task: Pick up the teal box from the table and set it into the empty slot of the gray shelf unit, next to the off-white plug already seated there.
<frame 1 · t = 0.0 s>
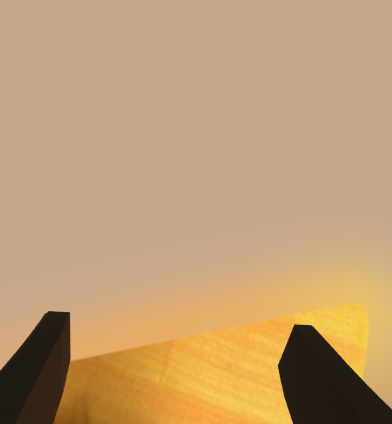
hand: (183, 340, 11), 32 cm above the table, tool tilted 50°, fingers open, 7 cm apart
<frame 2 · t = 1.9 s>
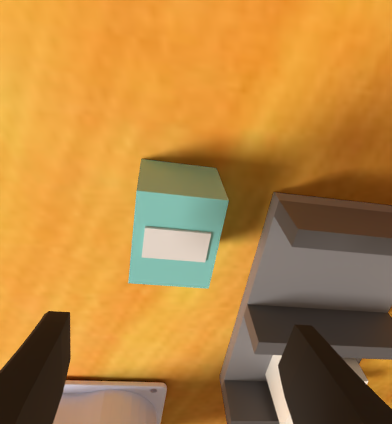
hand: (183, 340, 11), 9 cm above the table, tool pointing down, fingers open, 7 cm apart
gray shelf unit: (311, 303, 24), on the table
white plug: (300, 352, 25), point 1 cm above the table, touching gray shelf unit
teal box: (173, 204, 19), on the table
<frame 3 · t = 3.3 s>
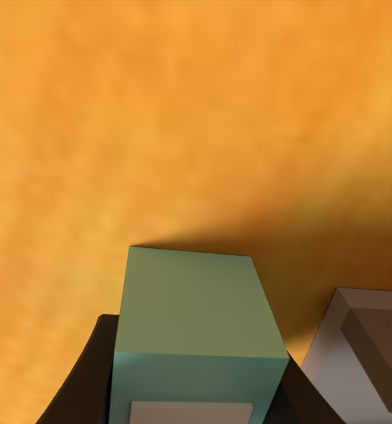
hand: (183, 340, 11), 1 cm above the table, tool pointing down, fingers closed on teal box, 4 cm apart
gray shelf unit: (373, 419, 17), on the table
teal box: (180, 308, 12), on the table, touching gripper
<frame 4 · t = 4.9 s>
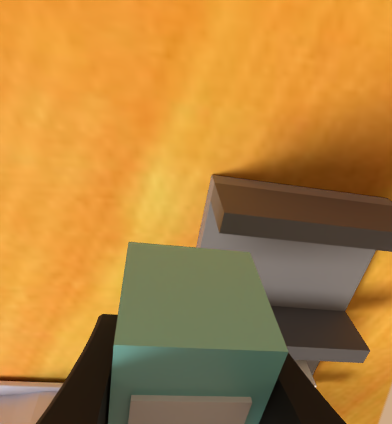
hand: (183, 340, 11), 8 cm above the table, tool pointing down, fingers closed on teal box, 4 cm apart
gray shelf unit: (263, 300, 22), on the table
teal box: (180, 304, 12), point 7 cm above the table, touching gripper
when the fingers open (4 cm above the table, at t = 6.5 s): teal box drops 1 cm, resting on gray shelf unit.
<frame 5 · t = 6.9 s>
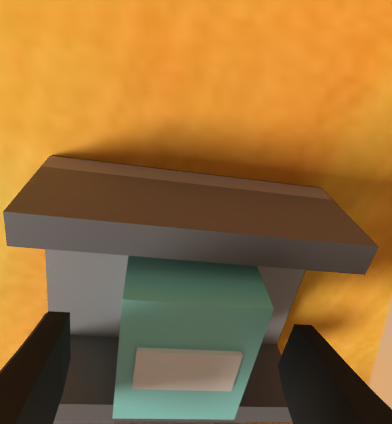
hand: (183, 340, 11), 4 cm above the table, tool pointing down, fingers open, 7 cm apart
gray shelf unit: (167, 329, 16), on the table
teal box: (179, 279, 14), point 1 cm above the table, touching gray shelf unit
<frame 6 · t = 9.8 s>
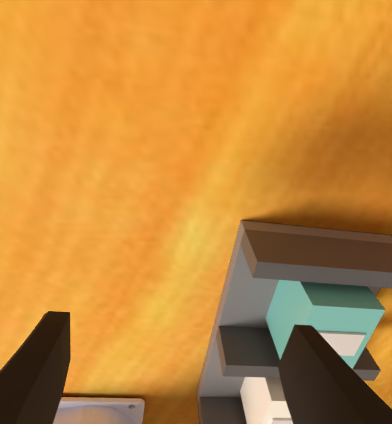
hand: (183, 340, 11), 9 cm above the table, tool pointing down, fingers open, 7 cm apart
gray shelf unit: (283, 323, 25), on the table
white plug: (273, 370, 26), point 1 cm above the table, touching gray shelf unit
teal box: (305, 291, 22), point 1 cm above the table, touching gray shelf unit
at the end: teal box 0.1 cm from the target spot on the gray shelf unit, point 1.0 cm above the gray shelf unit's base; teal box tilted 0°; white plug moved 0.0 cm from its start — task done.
